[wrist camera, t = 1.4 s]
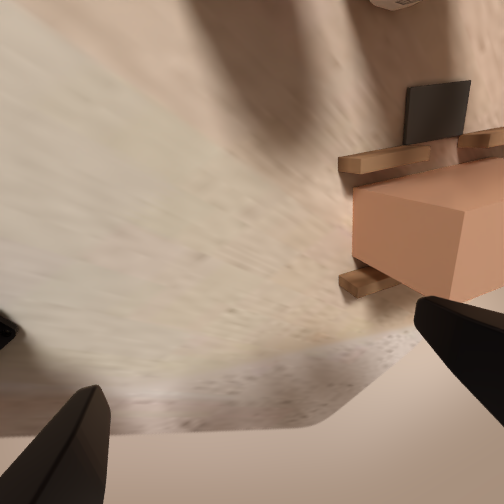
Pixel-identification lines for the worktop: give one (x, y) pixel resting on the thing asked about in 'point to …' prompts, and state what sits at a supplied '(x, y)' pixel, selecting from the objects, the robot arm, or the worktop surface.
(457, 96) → the lane
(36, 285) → the worktop surface
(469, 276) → the brick
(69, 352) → the worktop surface
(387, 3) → the supplement can
